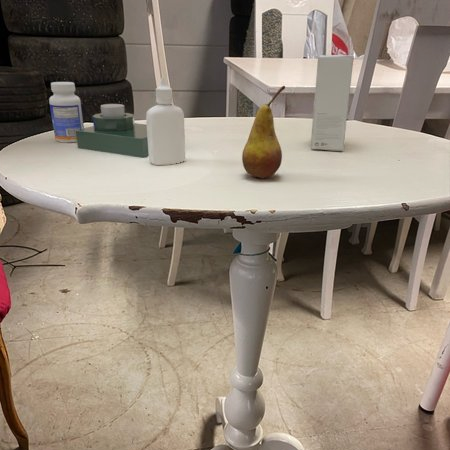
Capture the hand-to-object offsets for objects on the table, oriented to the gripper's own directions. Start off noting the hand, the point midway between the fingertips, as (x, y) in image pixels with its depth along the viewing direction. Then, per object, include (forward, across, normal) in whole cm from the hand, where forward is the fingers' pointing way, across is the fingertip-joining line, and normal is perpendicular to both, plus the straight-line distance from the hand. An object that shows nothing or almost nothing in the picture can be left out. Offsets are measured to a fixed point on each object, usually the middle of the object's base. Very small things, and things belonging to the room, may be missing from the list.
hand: (59, 17), depth 72 cm
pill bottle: (+20, +4, +5) cm, 21 cm away
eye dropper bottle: (+19, -1, -20) cm, 28 cm away
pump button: (+15, +5, -5) cm, 16 cm away
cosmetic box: (+19, +23, -38) cm, 49 cm away
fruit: (+19, -2, -36) cm, 41 cm away
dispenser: (+19, +5, -8) cm, 21 cm away
